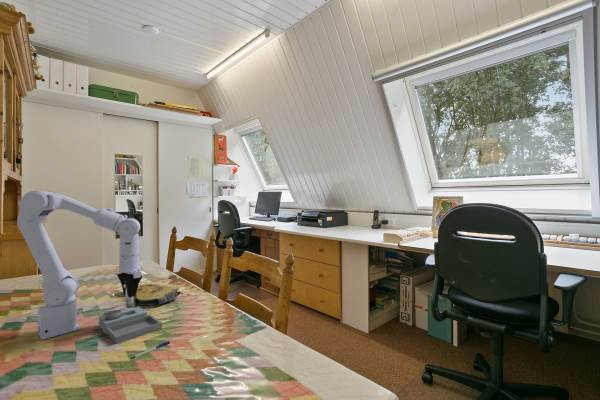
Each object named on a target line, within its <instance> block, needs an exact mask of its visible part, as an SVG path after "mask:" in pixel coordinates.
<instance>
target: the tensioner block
mask: <svg viewBox="0 0 600 400" xmlns="http://www.w3.org/2000/svg"><path fill="white" fill-rule="evenodd" d="M147 314H148V312H147V311H146V310H144V309H143V308H142V307H141V306H136V307H132V308H128V309H125V310H119V309H116V310H115V309H114V310H110V311H107V312H105V314H104V315H103V316H99V317H98V323H99V324H98V325H99V328H100V329H101V330H102V331H103V332H104V333H105V334H106V327H109V326H113V325H116V324H120V323H123V322H127V321H130V320H134V319H137V318H141V317H144V316H148V315H147Z"/></svg>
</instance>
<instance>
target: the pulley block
mask: <svg viewBox="0 0 600 400" xmlns="http://www.w3.org/2000/svg"><path fill="white" fill-rule="evenodd" d="M181 294H182V295H184V293H183V292H181V291H179V289H178V288H176V289H175V288H174V287H173V286H171V285H166V284H153V283H146V284H145V283H144V284H139V285H138V289H137V293H136V296H134V305H138V307H140V308H156V307H158V306H160V305H163V304H164V303H166V302H172V301H173V300H174V299H176V297H178V296H179V295H181Z"/></svg>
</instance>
